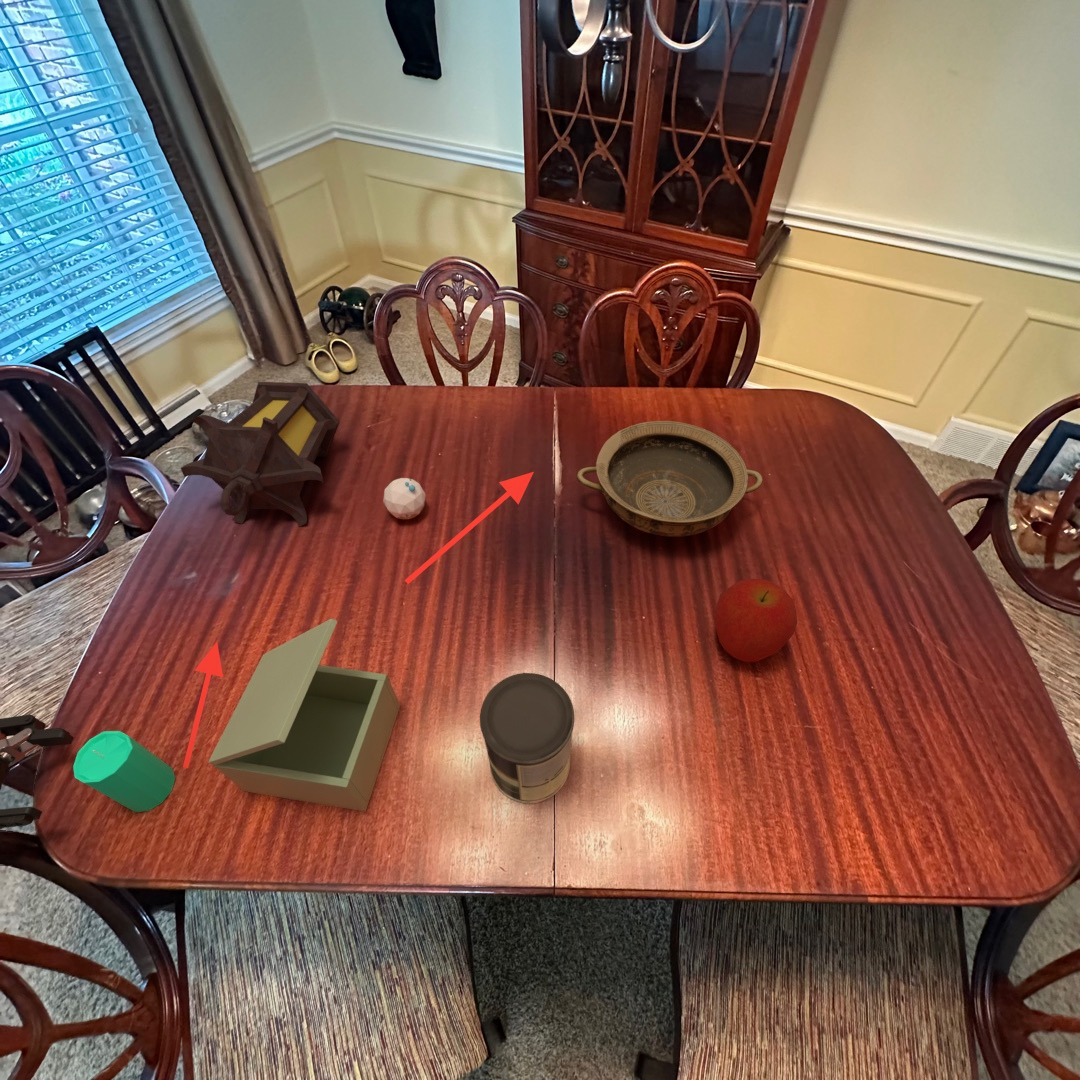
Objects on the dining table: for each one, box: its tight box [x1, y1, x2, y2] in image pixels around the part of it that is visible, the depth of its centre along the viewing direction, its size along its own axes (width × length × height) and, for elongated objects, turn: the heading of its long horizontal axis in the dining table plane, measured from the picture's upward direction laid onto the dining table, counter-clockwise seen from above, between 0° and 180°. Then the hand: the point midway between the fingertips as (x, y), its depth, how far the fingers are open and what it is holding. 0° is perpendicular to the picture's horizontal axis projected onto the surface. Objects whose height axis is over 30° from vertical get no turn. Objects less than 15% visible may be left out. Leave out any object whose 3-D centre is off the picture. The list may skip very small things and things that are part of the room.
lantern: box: [180, 381, 340, 528], centre depth 100 cm, size 21×23×30 cm
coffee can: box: [479, 672, 575, 804], centre depth 71 cm, size 10×10×14 cm
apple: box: [713, 578, 798, 663], centre depth 81 cm, size 10×10×14 cm
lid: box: [207, 618, 338, 766], centre depth 66 cm, size 17×14×1 cm
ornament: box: [382, 477, 427, 520], centre depth 101 cm, size 7×7×8 cm
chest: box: [212, 664, 401, 813], centre depth 74 cm, size 16×14×9 cm
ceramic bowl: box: [576, 420, 764, 538], centre depth 100 cm, size 30×24×10 cm
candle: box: [72, 730, 176, 813], centre depth 70 cm, size 6×6×12 cm
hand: (53, 773), depth 69 cm, fingers open, 8 cm apart
